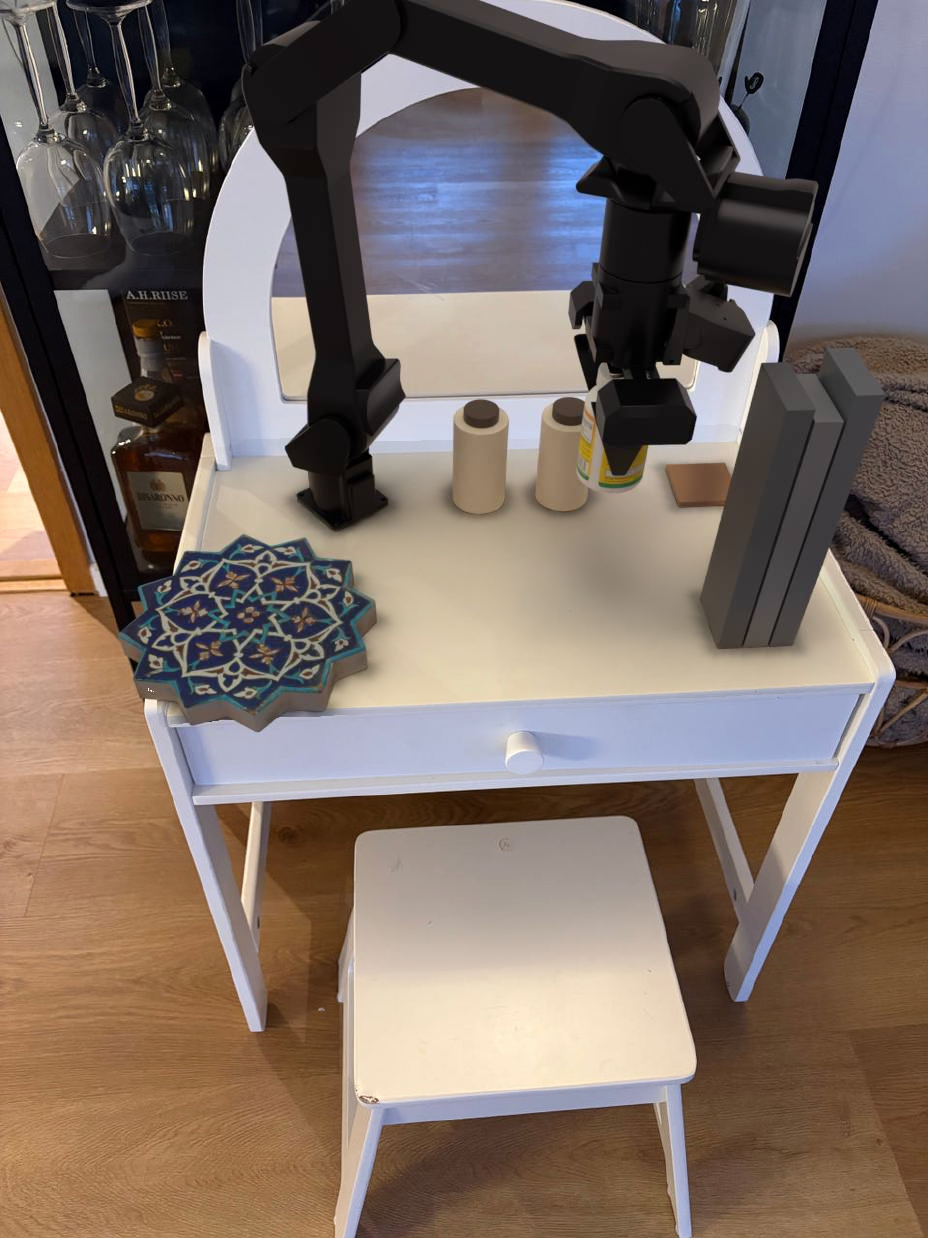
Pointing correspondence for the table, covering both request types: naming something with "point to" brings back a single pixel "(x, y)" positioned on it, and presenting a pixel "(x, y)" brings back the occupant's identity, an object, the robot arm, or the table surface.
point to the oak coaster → (699, 483)
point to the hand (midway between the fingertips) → (612, 453)
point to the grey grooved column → (787, 496)
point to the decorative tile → (249, 632)
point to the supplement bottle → (603, 451)
